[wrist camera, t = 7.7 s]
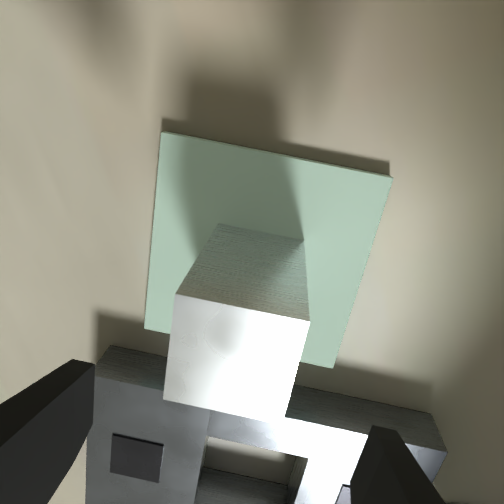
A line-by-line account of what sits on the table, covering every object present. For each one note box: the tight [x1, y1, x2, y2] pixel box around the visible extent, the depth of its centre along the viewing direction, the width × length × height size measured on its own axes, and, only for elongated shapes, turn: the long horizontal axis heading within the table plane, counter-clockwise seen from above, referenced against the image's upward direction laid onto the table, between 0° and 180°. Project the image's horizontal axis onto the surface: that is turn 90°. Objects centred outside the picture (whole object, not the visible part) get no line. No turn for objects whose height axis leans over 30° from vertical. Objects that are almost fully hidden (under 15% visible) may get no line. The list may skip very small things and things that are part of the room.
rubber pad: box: [144, 131, 393, 369], centre depth 19 cm, size 10×10×1 cm
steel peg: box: [163, 223, 310, 425], centre depth 15 cm, size 4×4×7 cm
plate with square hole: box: [85, 345, 448, 504], centre depth 22 cm, size 18×10×3 cm, turn 80°
